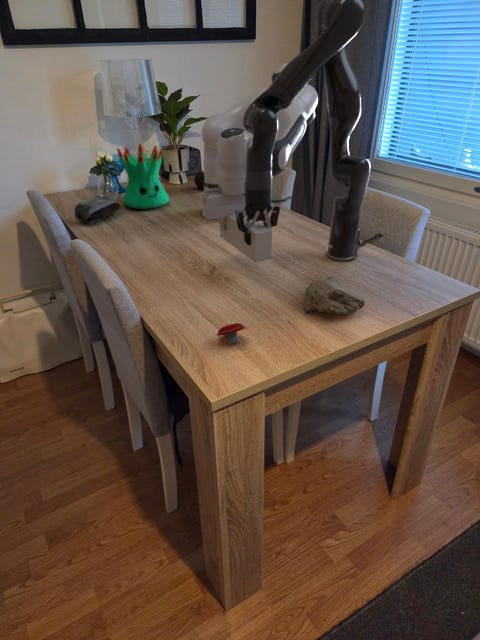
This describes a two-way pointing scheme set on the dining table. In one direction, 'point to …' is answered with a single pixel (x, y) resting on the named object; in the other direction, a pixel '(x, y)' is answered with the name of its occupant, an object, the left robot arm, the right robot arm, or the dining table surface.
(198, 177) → the toy
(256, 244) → the bar
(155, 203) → the toy
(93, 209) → the dark grey case
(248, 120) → the right robot arm
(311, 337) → the dining table surface
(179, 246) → the dining table surface
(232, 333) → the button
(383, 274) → the dining table surface
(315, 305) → the artifact
